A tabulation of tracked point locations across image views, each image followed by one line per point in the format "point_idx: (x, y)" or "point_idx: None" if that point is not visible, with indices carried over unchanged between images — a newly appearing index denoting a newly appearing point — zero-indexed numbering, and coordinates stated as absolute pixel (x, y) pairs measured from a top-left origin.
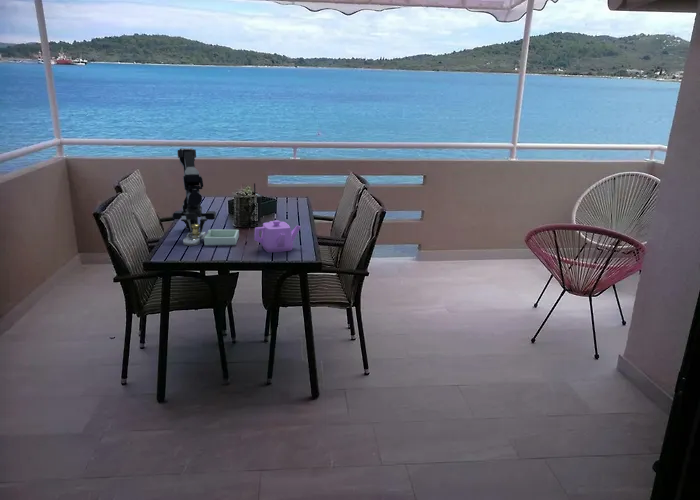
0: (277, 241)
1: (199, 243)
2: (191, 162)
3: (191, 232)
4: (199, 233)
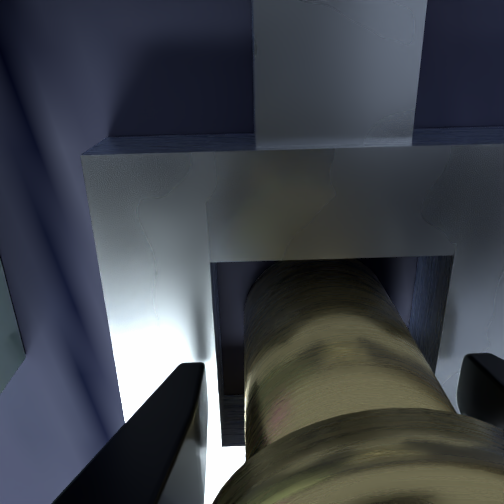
0: None
1: None
2: None
3: None
4: None
